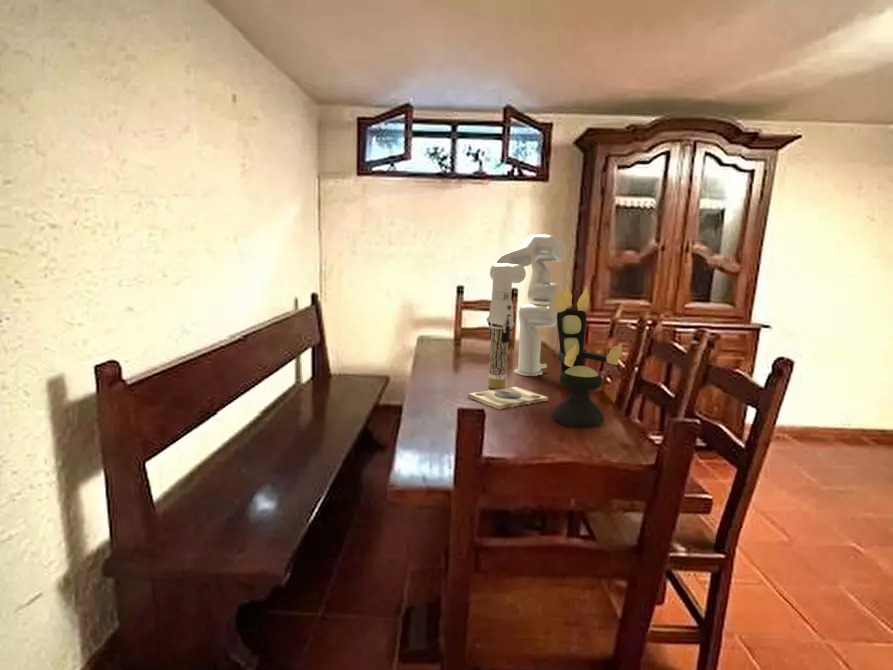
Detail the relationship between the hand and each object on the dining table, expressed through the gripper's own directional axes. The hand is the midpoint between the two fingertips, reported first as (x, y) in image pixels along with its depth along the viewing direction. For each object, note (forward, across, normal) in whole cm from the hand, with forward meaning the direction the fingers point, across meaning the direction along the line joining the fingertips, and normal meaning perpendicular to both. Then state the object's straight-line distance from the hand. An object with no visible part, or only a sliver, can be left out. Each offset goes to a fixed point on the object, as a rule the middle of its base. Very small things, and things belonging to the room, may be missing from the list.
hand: (499, 340), depth 235 cm
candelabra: (+20, -46, +5) cm, 50 cm away
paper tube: (+19, 0, 0) cm, 19 cm away
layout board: (+19, -16, +8) cm, 26 cm away
